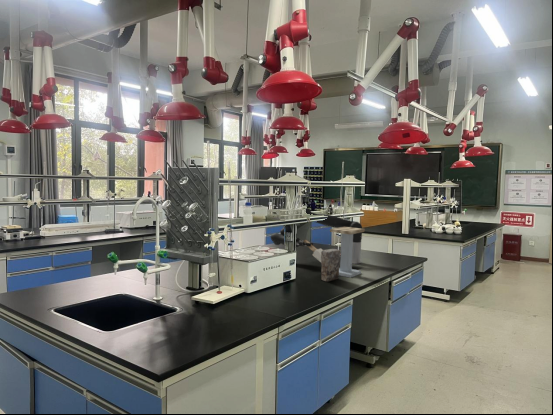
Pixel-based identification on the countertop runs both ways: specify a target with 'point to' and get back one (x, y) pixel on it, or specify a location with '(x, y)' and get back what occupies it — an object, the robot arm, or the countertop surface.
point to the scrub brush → (315, 251)
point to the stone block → (330, 264)
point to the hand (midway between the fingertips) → (311, 244)
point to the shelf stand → (347, 250)
